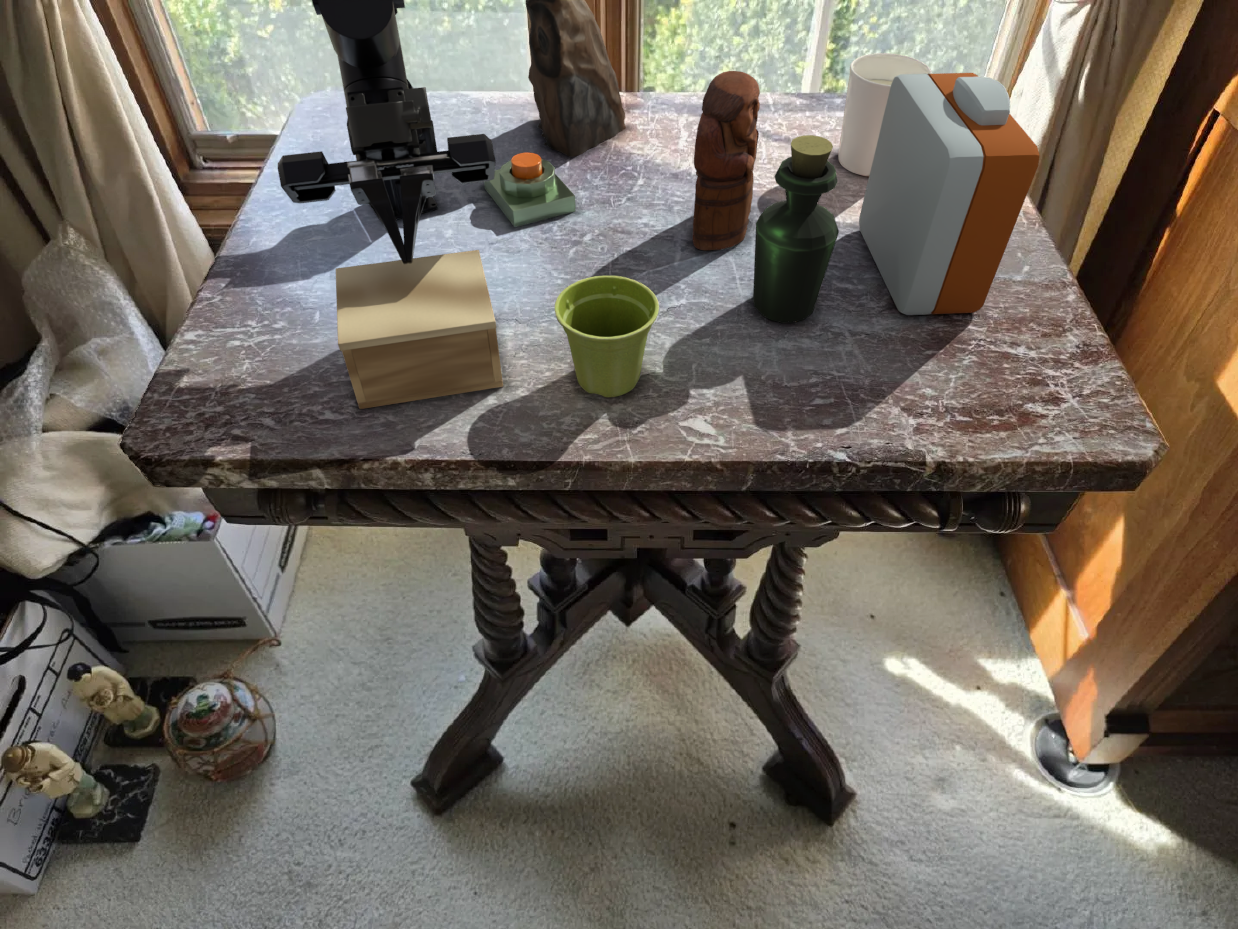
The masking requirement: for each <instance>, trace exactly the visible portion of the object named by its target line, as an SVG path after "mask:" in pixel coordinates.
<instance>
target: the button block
mask: <svg viewBox="0 0 1238 929" xmlns="http://www.w3.org/2000/svg"><path fill="white" fill-rule="evenodd" d="M541 162H542V175H540V176H539V177H537V178H532V179H519V178H516V177H514V176H513V174H512V164H511V159H509V160H508V161H507V162H505V163H504V164H502V165H501V167H500V168H498V169H495V175H494V179H493V180H490V181H486V182H483V185H484V189H485V191H486V192H487V194H488V195H489V196H490V198H491V199H492V200H493V201H494V202H495V204H496V206H498V208H499V209H500V210H501V212H502V213H503V214H504V216H505V217H506V218H507V219H508V221H509V222H510V224H511V225H512V226H513V227H514V228H517V227H522V226H525V225H529V224H532V223H537V222H540V221H541V222H542V221H544V220H547V219H551V218H556V217H561V216H564V215H567V214H571V213H575V212H576V195H575V194H574V192H572V190H571V189H570V188H569V187H568V186H567V185H566V184H565V183H564V181H563V180H561V179H560V177H559V176H558V174H556V169H555V167H554V166H553V164H552V163H551V162H550V161H548V160H546V159H543V158H541Z"/></svg>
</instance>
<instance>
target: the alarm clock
mask: <svg viewBox="0 0 1238 929" xmlns="http://www.w3.org/2000/svg"><path fill="white" fill-rule="evenodd" d="M1040 157H1041V155H1040V152H1039V148H1038V145H1037V143H1036V142H1034V141H1033V139H1032V138H1031V137H1030V136H1029V134H1028V133H1027V132H1026V131H1025V130H1024V129H1023V127H1022V126H1021V125H1020V124H1019V123H1018V121H1017V120H1016V119H1015V118H1014V117H1013V116H1012V114H1011V100H1010V95H1009V93H1008V90H1007V89H1006V87H1005V86H1004V84H1002V83H1001V82H1000V81H998V80H997V79H995V78H992V77H989V76H979V75H978V74H976V73H974V72H950V73H948V72H946V73H944V72H943V73H941V72H939V73H932V74H901V75H898V76H896V77H894V79H893V82H892V84H891V88H890V92H889V96H888V100H887V104H886V108H885V112H884V116H883V120H882V125H881V129H880V133H879V138H878V142H877V146H876V150H875V154H874V159H873V163H872V167H871V171H870V175H869V176H868V180H867V183H866V187H865V192H864V195H863V199H862V203H861V204H862V205H861V209H860V212H859V218H858V225H859V231H860V233H861V235H862V238H863V240H864V242H865V245H866V246H867V248H868V250H869V252H870V254H871V257H872V258H873V261H874V263H875V265H876V267H877V269H878V272H879V273H880V276H881V277H882V279H883V282H884V283H885V286H886V288H887V290H888V292H889V294H890V296H891V299H892V301H893V302H894V305H895V307H896V309H897V311H898V312H899V313H901V314H903V315H905V316H918V315H946V314H948V315H949V314H970V313H973V314H974V313H976V312H978V311H980V310H981V309H982V308H983V307H984V305H985V302H986V299H987V297H988V294H989V292H990V289H991V287H992V285H993V282H994V279H995V277H996V275H997V272H998V269H999V267H1000V264H1001V262H1002V259H1003V256H1004V254H1005V252H1006V250H1007V247H1008V244H1009V241H1010V240H1011V237H1012V234H1013V231H1014V228H1015V226H1016V223H1017V221H1018V218H1019V216H1020V213H1021V211H1022V208H1023V206H1024V203H1025V202H1026V201H1025V200H1026V198H1027V196H1028V194H1029V191H1030V188H1031V185H1032V183H1033V180H1034V178H1035V175H1036V173H1037V170H1038V168H1039V164H1040Z"/></svg>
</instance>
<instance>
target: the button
mask: <svg viewBox="0 0 1238 929" xmlns="http://www.w3.org/2000/svg"><path fill="white" fill-rule="evenodd" d="M541 159H542V157H541V156H540V155H539V154H537V153H535V152H528V151H527V152H520V153H516V154H515V155H513V156H512V157H511V159H510V160H511V164H512V174H513V176H514V177H516V178H519V179H532V178H537V177H539V176H540V175H542V162H541Z"/></svg>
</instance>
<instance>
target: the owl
mask: <svg viewBox="0 0 1238 929" xmlns="http://www.w3.org/2000/svg"><path fill="white" fill-rule="evenodd" d="M525 8H526V11H527V13H528V17H529V21H530V28H529V37H528V45H529V50H530V57H531V59H530V60H531V61H530V62H531V63H530V66H529V69H528V75H527V78H528V80H529V82H530V84H531V85H532V87H533V99H534V103H535V105H536V109H537V111H538V117H539V120H540V123H538V126H537V127H538V129H539V130H541V131H542V133H541V134H540V136H541V137H542V138H544V140H545V142H544V143H543V145H544V146H546V147H548V149H550V150H552V151H556V152H560V153H561V154H564V155H566V156H567V157H568V158H574V157H575V158H576V157H578V156H582V155H583V154H586V153H587V151H589V150H590V149H593V148H596V147H598V145H599V144H602V143H603V142H605V141H608V140H611V139H613V138H615V137H616V136H617V135H618V134H619V133H621V132H623V131H624V130H626V129H627V127H626V122H625V120H626V112H625V110H624V107H623V102H622V97H621V93H620V88H619V81H618V78H617V74H616V72H615V70H614V68H613V67H612V63H611V61H610V58H609V54H608V51H607V48H606V45H605V42H604V38H603V35H602V32H601V28H600V25H599V24H598V22H597V20H596V18H595V14H594V13H593V11H592V10H591V8H590V6H589V5H588V3H587V1H586V0H525Z"/></svg>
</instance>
